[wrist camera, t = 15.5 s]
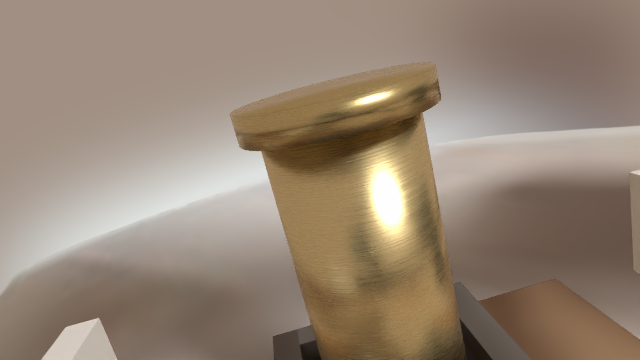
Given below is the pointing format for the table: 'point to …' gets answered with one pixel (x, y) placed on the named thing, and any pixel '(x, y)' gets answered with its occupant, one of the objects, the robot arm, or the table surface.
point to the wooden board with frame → (515, 328)
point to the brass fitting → (362, 211)
